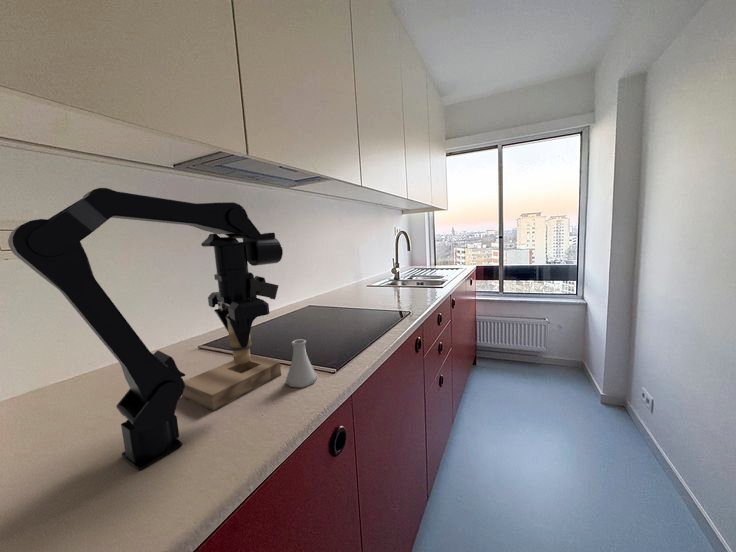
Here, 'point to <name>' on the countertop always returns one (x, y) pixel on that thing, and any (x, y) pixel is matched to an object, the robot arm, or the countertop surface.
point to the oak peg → (239, 348)
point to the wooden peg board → (230, 382)
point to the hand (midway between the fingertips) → (240, 344)
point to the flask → (300, 367)
